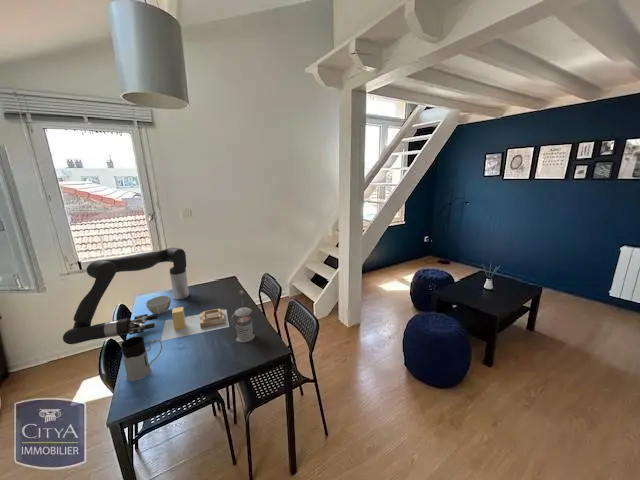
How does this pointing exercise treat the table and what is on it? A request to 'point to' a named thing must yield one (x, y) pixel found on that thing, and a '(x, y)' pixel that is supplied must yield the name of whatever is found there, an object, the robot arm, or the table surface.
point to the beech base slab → (211, 318)
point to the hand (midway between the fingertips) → (155, 320)
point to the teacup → (159, 304)
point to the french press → (245, 331)
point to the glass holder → (136, 358)
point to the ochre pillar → (178, 318)
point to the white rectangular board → (189, 327)
